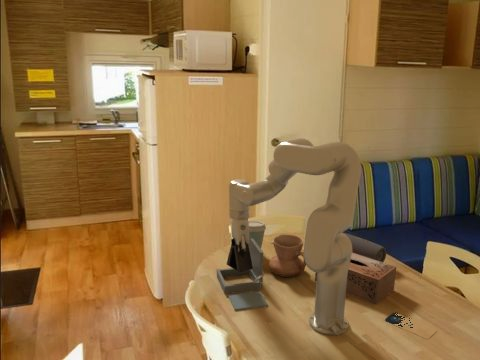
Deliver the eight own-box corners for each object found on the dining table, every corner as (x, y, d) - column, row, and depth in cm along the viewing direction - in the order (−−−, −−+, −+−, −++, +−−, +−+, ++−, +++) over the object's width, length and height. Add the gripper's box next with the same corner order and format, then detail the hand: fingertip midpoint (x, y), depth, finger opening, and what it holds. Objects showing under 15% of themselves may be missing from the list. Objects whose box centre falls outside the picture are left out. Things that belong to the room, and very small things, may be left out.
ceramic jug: (259, 270, 186) (260, 238, 182) (282, 259, 196) (284, 229, 192) (293, 286, 173) (295, 253, 169) (316, 274, 183) (318, 242, 179)
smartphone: (428, 339, 141) (383, 319, 151) (427, 341, 141) (383, 321, 151) (438, 330, 146) (394, 311, 156) (438, 331, 146) (394, 312, 157)
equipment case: (263, 290, 170) (264, 253, 166) (225, 295, 166) (225, 257, 162) (251, 271, 185) (252, 237, 181) (216, 275, 181) (216, 240, 177)
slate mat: (268, 306, 159) (268, 304, 159) (234, 310, 156) (234, 309, 156) (259, 292, 168) (259, 291, 168) (228, 296, 165) (228, 294, 165)
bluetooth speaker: (328, 254, 202) (330, 233, 199) (341, 248, 208) (342, 228, 206) (373, 271, 186) (375, 249, 183) (385, 265, 192) (388, 243, 189)
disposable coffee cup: (238, 251, 204) (238, 219, 200) (260, 248, 207) (261, 217, 203) (245, 260, 194) (245, 228, 190) (268, 257, 197) (269, 225, 194)
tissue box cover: (393, 290, 171) (396, 266, 169) (376, 305, 161) (378, 279, 158) (334, 269, 188) (336, 247, 185) (314, 281, 178) (316, 258, 175)
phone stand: (252, 269, 171) (253, 239, 168) (239, 273, 168) (240, 242, 165) (239, 260, 178) (239, 232, 175) (226, 264, 175) (226, 235, 172)
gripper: (255, 219, 161) (255, 266, 165) (243, 205, 176) (243, 249, 181) (234, 220, 159) (235, 269, 164) (224, 207, 174) (225, 251, 179)
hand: (239, 258), depth 172 cm, fingers closed on phone stand, 2 cm apart
